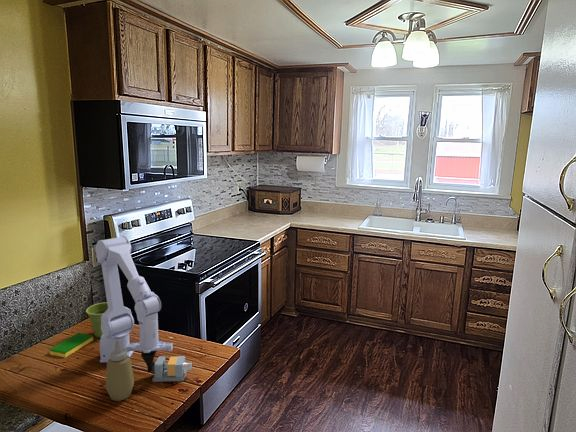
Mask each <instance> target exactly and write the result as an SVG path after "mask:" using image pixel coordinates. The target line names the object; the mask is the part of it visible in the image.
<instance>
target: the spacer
mask: <svg viewBox="0 0 576 432" xmlns="http://www.w3.org/2000/svg"><path fill="white" fill-rule="evenodd" d="M178 356H179V355H178ZM178 356H170V357H169V360H168V362H167V363H168V364H167V375H168V376H176V374H175V364H176V362H177V359H178Z"/></svg>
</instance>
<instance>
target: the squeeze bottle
mask: <svg viewBox="0 0 576 432" xmlns="http://www.w3.org/2000/svg"><path fill="white" fill-rule="evenodd" d="M105 376H106V378H105V389H106V392H107V394H108V396H109V397H110V399H111V400H112V401H113V402H115V401H116V402H120V401H123V400H124V401H125V400H126V399H128V398H129V397H130V396H131V395H132V392H133V387H134V384H135V377H134V371H133V365H132V361H131V356H130V357H129V356H127V351H126V350H125V349H122V346H121V342H120V340H117V341H116V342H115V348H114V350H113V351H112V352H111V353H110V359H109V360H108V362H106V375H105Z"/></svg>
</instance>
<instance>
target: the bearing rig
mask: <svg viewBox="0 0 576 432" xmlns="http://www.w3.org/2000/svg"><path fill="white" fill-rule="evenodd" d="M155 361H156V363H155V372H154V374H153V376H152V382H153V383H155V382H156V383H158V382H184V381H185V378H186V375H187V373H188V370H183V363H186V356H185V355H178V359H177V362H176V364H175V374H176V376H168V375H167V370H163V363H167V362H166V355H165V356H164V355H163V356H162V355H161V356H158V358H157V360H155Z"/></svg>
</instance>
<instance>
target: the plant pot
mask: <svg viewBox="0 0 576 432" xmlns="http://www.w3.org/2000/svg"><path fill="white" fill-rule="evenodd" d="M107 309H108V304H107V301H106V302H104V301H103V302H99V303H95V304H92V305H90V306H89V307H87V308H86V309H85V313H86V314H87V316H88V318H89V321H90V324H91V326H92V331H93V334H94V337H96V338H99V339H101V336H102V335H103V333H102V331H101V316H102V315H103V314H104V313H105V311H106V310H107Z"/></svg>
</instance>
